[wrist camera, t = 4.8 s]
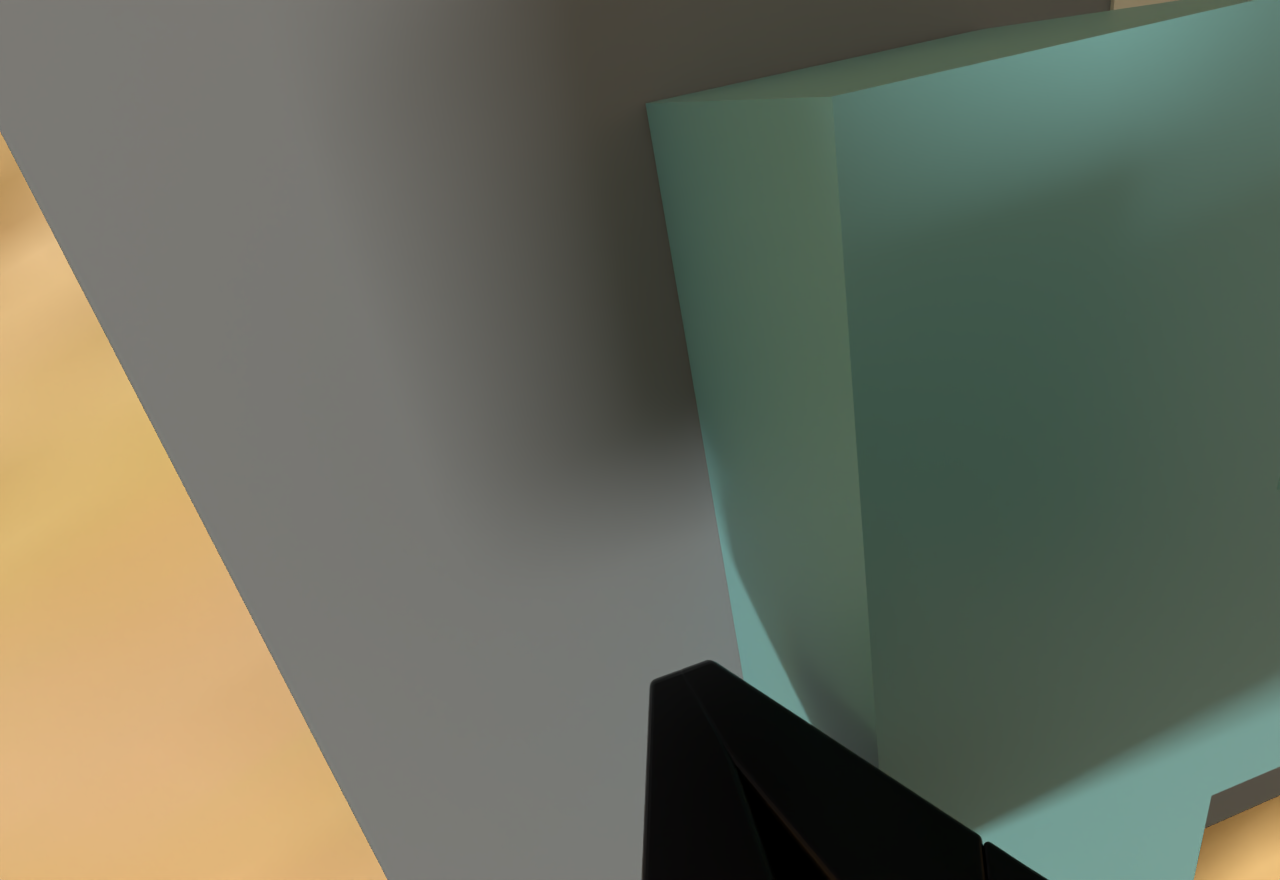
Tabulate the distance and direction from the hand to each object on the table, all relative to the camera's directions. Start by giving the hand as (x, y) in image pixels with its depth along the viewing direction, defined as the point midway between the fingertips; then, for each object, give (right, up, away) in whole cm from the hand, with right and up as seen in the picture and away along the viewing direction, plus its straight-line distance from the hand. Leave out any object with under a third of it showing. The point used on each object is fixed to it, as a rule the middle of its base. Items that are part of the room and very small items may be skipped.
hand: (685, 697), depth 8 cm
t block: (+6, +3, +3) cm, 8 cm away
